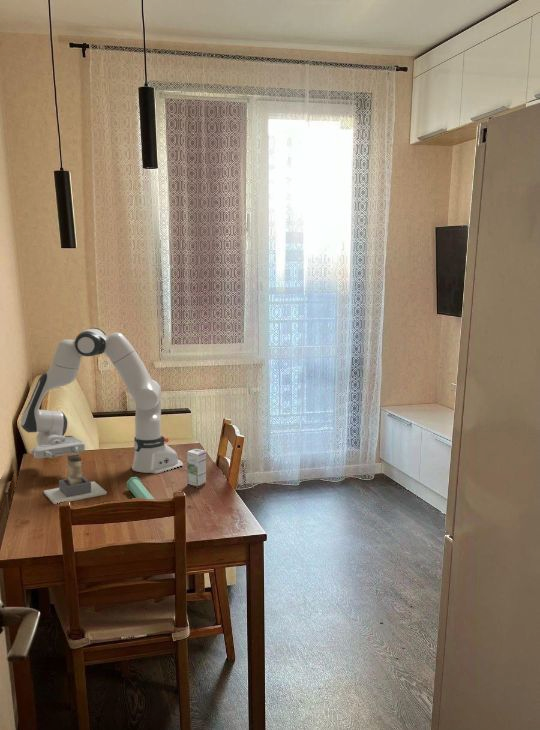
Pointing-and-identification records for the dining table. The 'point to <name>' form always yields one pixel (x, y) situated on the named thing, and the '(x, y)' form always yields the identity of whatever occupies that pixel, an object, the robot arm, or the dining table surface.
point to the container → (138, 488)
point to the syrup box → (196, 467)
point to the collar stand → (74, 491)
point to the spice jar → (74, 470)
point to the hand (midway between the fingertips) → (64, 454)
